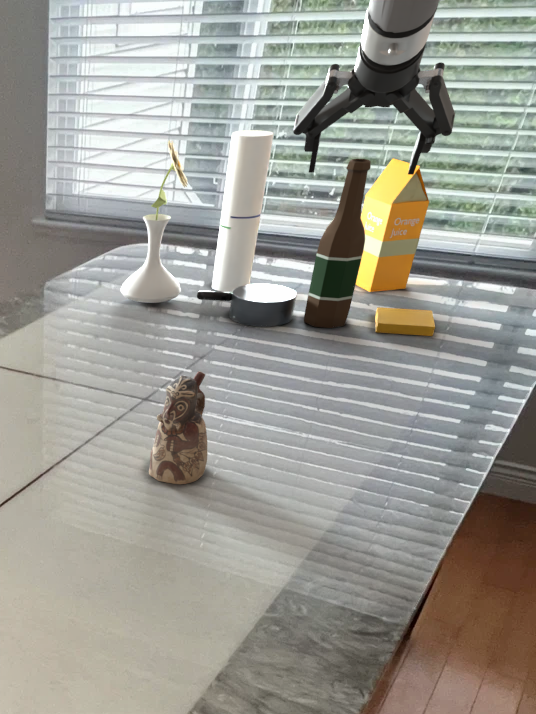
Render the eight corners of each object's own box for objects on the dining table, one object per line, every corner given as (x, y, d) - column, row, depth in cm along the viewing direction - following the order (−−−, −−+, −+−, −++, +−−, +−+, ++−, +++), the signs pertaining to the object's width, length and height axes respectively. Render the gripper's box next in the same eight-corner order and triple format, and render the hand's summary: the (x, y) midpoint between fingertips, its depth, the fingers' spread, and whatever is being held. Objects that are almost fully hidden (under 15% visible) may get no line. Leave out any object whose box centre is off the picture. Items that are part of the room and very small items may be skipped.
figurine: (136, 467, 108) (145, 372, 100) (180, 454, 111) (192, 360, 103) (171, 489, 104) (183, 391, 95) (216, 475, 106) (231, 378, 98)
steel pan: (293, 309, 153) (298, 285, 151) (290, 328, 146) (294, 303, 143) (198, 303, 158) (201, 280, 155) (190, 322, 150) (193, 297, 147)
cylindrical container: (242, 294, 161) (266, 137, 144) (206, 289, 164) (226, 135, 147) (253, 284, 166) (278, 131, 149) (218, 280, 168) (239, 129, 152)
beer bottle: (356, 320, 148) (395, 158, 132) (334, 331, 144) (372, 166, 128) (315, 311, 152) (348, 153, 136) (293, 322, 148) (324, 161, 132)
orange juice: (381, 276, 167) (411, 156, 154) (406, 288, 161) (440, 164, 147) (345, 279, 166) (372, 159, 153) (369, 292, 160) (400, 168, 146)
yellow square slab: (429, 319, 147) (432, 310, 146) (432, 336, 141) (435, 326, 140) (375, 316, 149) (377, 307, 148) (375, 332, 143) (377, 323, 142)
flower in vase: (165, 311, 155) (181, 149, 138) (109, 303, 159) (118, 145, 143) (192, 292, 163) (210, 137, 146) (138, 285, 167) (150, 134, 151)
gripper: (280, 70, 104) (268, 187, 125) (502, 68, 98) (450, 191, 118) (292, 12, 104) (277, 138, 125) (513, 6, 98) (460, 140, 118)
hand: (361, 164), depth 122 cm, fingers open, 13 cm apart
